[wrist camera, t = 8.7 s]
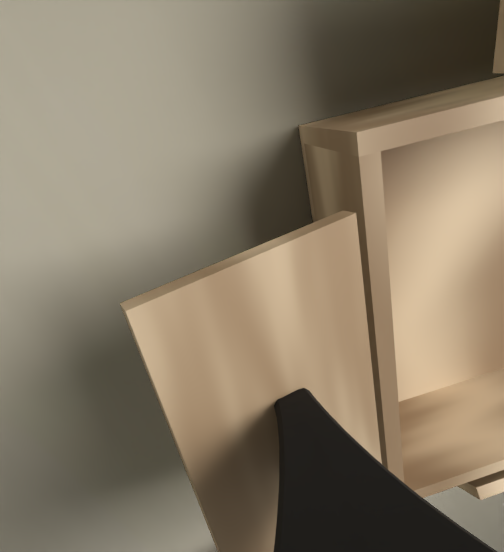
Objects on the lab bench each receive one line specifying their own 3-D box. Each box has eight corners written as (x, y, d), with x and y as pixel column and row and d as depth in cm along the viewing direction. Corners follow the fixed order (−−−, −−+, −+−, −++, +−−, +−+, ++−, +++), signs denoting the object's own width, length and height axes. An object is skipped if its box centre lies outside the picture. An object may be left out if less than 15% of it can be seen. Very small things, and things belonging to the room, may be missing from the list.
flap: (356, 212, 8) (125, 311, 6) (385, 497, 12) (244, 615, 10) (342, 210, 9) (119, 303, 7) (375, 488, 12) (237, 600, 10)
